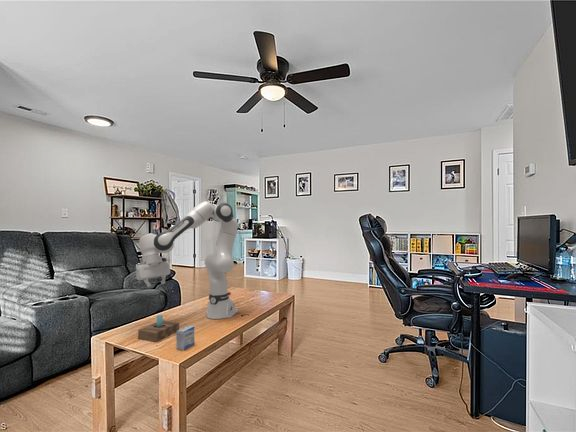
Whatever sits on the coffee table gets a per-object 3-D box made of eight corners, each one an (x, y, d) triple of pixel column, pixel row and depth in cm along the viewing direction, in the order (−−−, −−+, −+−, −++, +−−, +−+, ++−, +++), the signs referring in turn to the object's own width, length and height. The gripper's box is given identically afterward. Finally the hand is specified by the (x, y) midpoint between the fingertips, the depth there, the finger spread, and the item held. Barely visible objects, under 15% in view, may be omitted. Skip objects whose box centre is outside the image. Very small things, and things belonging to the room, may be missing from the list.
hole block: (161, 328, 162) (162, 320, 163) (179, 330, 158) (179, 322, 158) (138, 338, 148) (138, 329, 148) (156, 342, 143) (156, 332, 143)
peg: (159, 333, 155) (159, 314, 155) (163, 334, 154) (164, 315, 154) (155, 335, 152) (155, 316, 152) (159, 336, 151) (159, 316, 151)
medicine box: (183, 350, 134) (183, 331, 134) (175, 349, 135) (176, 330, 136) (194, 344, 141) (194, 326, 141) (187, 342, 143) (187, 325, 143)
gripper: (138, 261, 156) (143, 287, 153) (169, 258, 174) (174, 280, 172) (131, 265, 158) (136, 289, 156) (162, 261, 177) (167, 283, 174)
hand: (156, 285), depth 164 cm, fingers open, 8 cm apart
